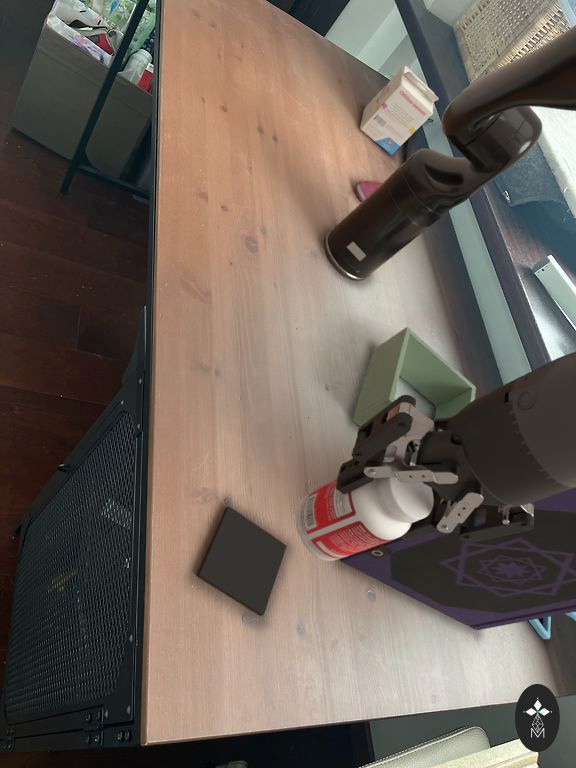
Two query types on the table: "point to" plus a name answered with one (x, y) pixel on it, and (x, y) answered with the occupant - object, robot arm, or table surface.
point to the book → (486, 568)
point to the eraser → (366, 189)
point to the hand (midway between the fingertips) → (372, 504)
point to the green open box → (411, 378)
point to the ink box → (398, 110)
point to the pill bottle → (360, 516)
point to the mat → (242, 561)
